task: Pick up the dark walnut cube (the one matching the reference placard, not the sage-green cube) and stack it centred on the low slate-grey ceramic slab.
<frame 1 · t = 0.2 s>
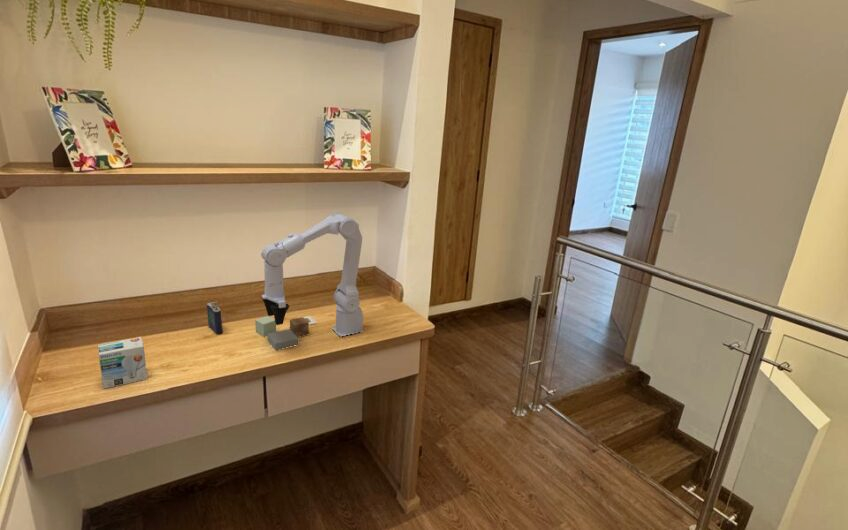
hand: (275, 319, 150), 10 cm above the table, fingers open, 7 cm apart
slate slab: (282, 343, 156), on the table
walnut block: (299, 333, 163), on the table
reference placard: (305, 321, 172), on the table
light bulb box: (125, 379, 129), on the table
sage block: (266, 332, 162), on the table
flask: (215, 330, 161), on the table
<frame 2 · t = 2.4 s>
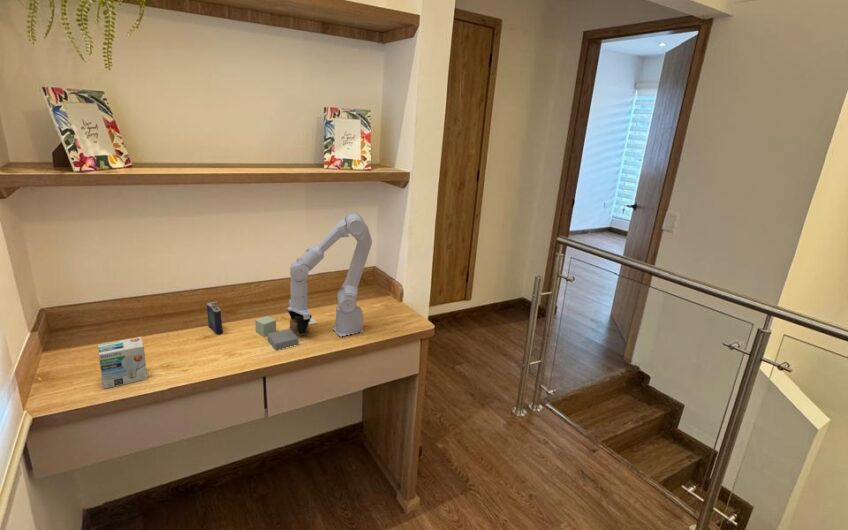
hand: (299, 329, 163), 1 cm above the table, fingers closed on walnut block, 5 cm apart
walnut block: (299, 333, 163), on the table, touching gripper
everything else where it was.
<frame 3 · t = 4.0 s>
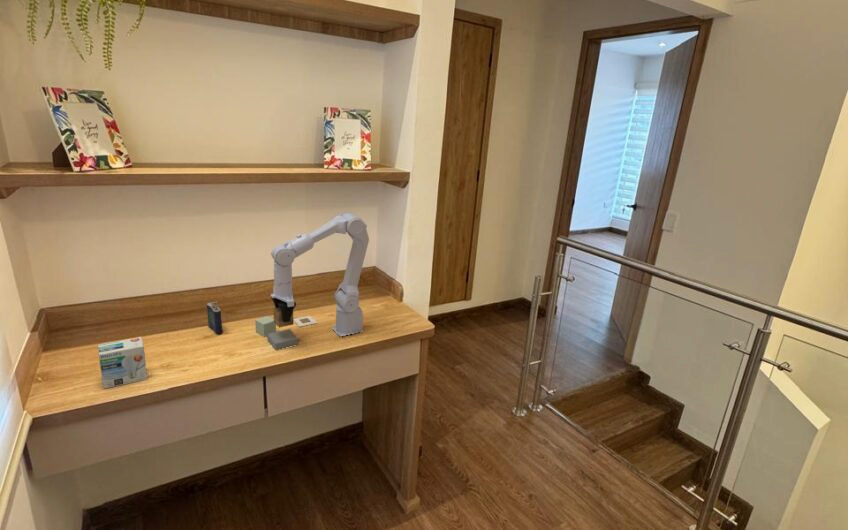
hand: (283, 318, 154), 9 cm above the table, fingers closed on walnut block, 5 cm apart
walnut block: (283, 323, 154), point 7 cm above the table, touching gripper
everything else where it was.
when the fingers open (6 cm above the table, at t = 5.6 s): walnut block drops 1 cm, point 3 cm above the table.
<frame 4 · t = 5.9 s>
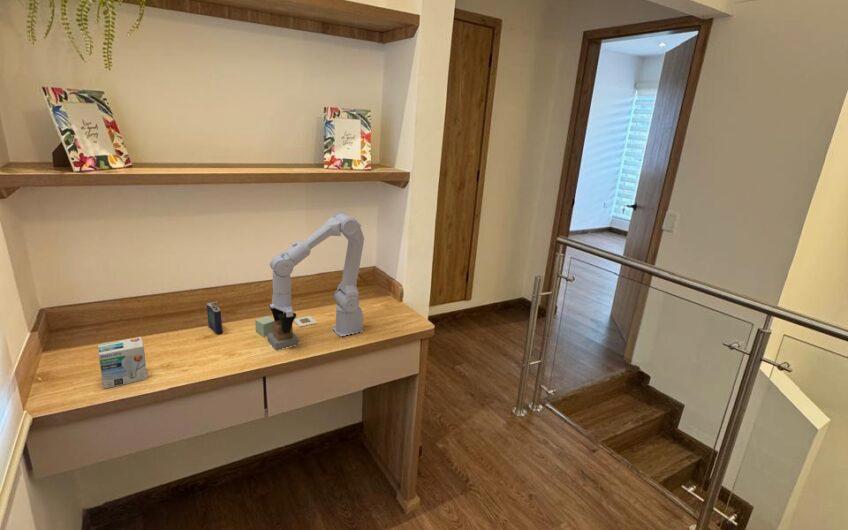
hand: (282, 328, 154), 6 cm above the table, fingers open, 7 cm apart
walnut block: (282, 336, 155), point 3 cm above the table
everything else where it was.
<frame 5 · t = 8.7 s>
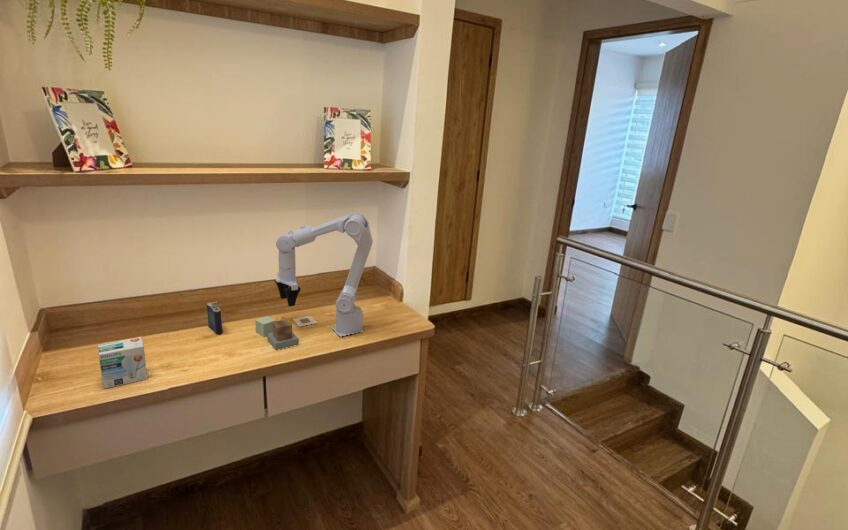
hand: (287, 301, 164), 10 cm above the table, fingers open, 7 cm apart
slate slab: (282, 343, 156), on the table, touching walnut block
walnut block: (282, 336, 155), point 2 cm above the table, touching slate slab
everything else where it was.
at the end: walnut block 0.3 cm off-centre on the slate slab, point 3.0 cm above the slate slab's base; walnut block tilted 0°; the gripper is holding nothing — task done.
